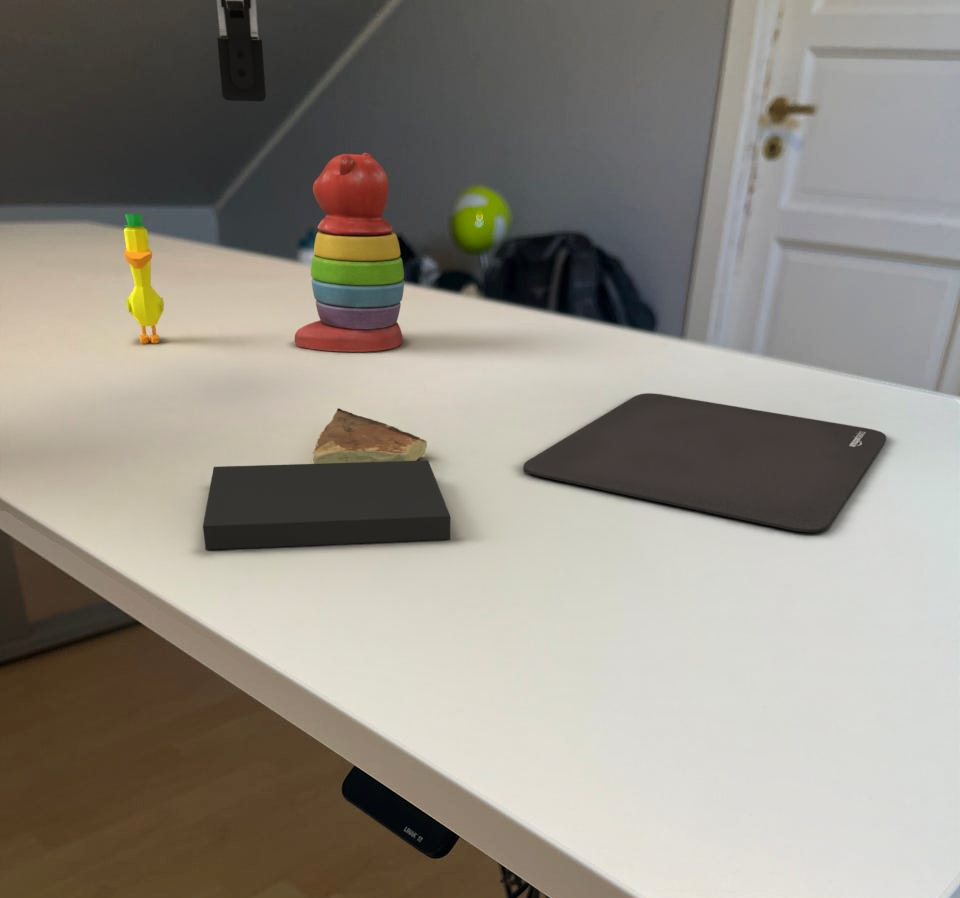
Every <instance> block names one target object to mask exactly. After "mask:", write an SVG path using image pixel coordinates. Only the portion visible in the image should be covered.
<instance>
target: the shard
mask: <svg viewBox="0 0 960 898" xmlns="http://www.w3.org/2000/svg"><path fill="white" fill-rule="evenodd" d="M427 448H428V442H427V440H425V439H423V438H421V437H419V436H416V435H414V434H412V433H410V432H407V431H403V430H400V429H399V428H397V427H395V426H392V425H389V424H387V423H385V422H381V421H379V420H374V419H372V418H368V417H364V416H362V415H358V414H354V413H353V412H349V411H347V410H343V409H342V408H339V407H338V408H337V409H336V412H335V413H334V415H333V417H332V420H331V421H330V422H329V423H328V424H327V425H326V426H325V427H324V430H323V431H322V432H320V434H319V437H318V438H317V439H316V443H315V447H314V449H313V451H312V454H313V455H312V456H313V459H312V460H313V462H314V463H313V464H322V463H355V462H388V461H418V460H419V459H420V458H422V457H423V456H424V455H425V452H426V450H427Z"/></svg>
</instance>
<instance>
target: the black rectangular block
mask: <svg viewBox="0 0 960 898" xmlns="http://www.w3.org/2000/svg"><path fill="white" fill-rule="evenodd" d="M202 530H203V531H202V532H203V540H204V548H205V550H206V551H213V550H236V549H238V550H239V549H256V548H257V549H261V548H281V547H283V548H284V547H304V546H307V547H308V546H327V545H329V546H331V545H349V544H351V545H352V544H370V543H371V544H372V543H395V542H396V543H397V542H417V541H419V542H420V541H439V540H441V541H442V540H451V515H450V512H449V509H448V507H447V504H446V502H445V499H444V496H443V494H442V491H441V489H440V486H439V484H438V482H437V479H436V477H435V475H434V472H433V468H432V467H431V464H430V462H429V460H428V459H427V460H423V459H422V460H416V461H388V462H355V463H322V464H314V463H297V464H296V463H293V464H292V463H291V464H289V463H288V464H261V465H259V464H257V465H224V466H213V468H212V474H211V479H210V483H209V490H208V497H207V501H206V507H205V513H204V518H203V524H202Z"/></svg>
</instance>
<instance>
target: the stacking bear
mask: <svg viewBox="0 0 960 898" xmlns="http://www.w3.org/2000/svg"><path fill="white" fill-rule="evenodd" d="M312 191H313V195H314V198H315V200H316V201H317V204H318V205H319V207H320V209H321V210H322V211H323V212H324V213H325V214H326V215H325V217H324V218H322V219H321V221H320V222H319V224H318V226H317V229H318V232H317V233H316V236H315V239H314V246H313V256H312V257H311V265H310V277H311V289H312V293H313V297H314V299H315V306H316V311H317V314H318V317H319V320H317V321H313V322H310V323H308V324H306V325H304V326H302V327H300V328H299V329H297V330H296V332H295V334H294V343H295V344H296V346H298V347H300V348H304V349H310V350H318V351H327V352H343V353H344V352H347V353H348V352H349V353H350V352H351V353H364V352H365V353H366V352H379V351H387V350H391V349H394V348H396V347H398V346H400V345H402V343H403V341H404V338H403V337H404V335H403V332H402V329H401V327H400V324H399V323H398V319H399V315H400V311H401V302H402V300H403V298H404V297H403V296H404V291H405V290H404V289H405V281H404V278H405V270H404V263H403V259H402V257H401V248H400V242H399V239H398V236H397V234H396V233H395V232H393V227H392V225H391V224H390V222H388V220H387V219H385V218H384V217H383V213H384V212H385V209H386V205H387V202H388V197H389V180H388V177H387V173H386V172H385V170H384V168H383V167H382V166H381V164H380V163H379V162H377V160H375V159H374V157H373V156H372V155H371V154H369V153H368V152H363V153H362V154H351V153H343V154H339V155H336V156H335V157H333V158H332V159H330V160H329V161H328V162H327V164H326V165H325V167H324V168H323V170H322V172H321V173H320V174H319V176H318V177H317V178H316V179H315V181H314V183H313V186H312Z"/></svg>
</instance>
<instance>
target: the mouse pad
mask: <svg viewBox="0 0 960 898" xmlns="http://www.w3.org/2000/svg"><path fill="white" fill-rule="evenodd" d="M886 439H887V436H886V433H884V432H881V431H879V430H877V429H873V428H867V427H863V426H855V425H850V424H843V423H837V422H832V421H826V420H820V419H813V418H808V417H802V416H797V415H790V414H784V413H779V412H778V413H777V412H773V411H765V410H759V409H753V408H747V407H741V406H735V405H730V404H729V405H728V404H724V403H716V402H710V401H705V400H698V399H692V398H686V397H681V396H674V395H669V394H662V393H653V392H652V393H651V392H650V393H649V392H648V393H647V392H646V393H640V394H637V395H634V396H633V397H631V398H629V399H628V400H626V401H625V402H623V403H621V404H619V405H618V406H616V407H614V408H613V409H611V410H609V411H608V412H606V413H604V414H602V415H601V416H599V417H597V418H595V419H594V420H593V421H591V422H589V423H587V424H585V425H584V426H582V427H581V428H579V429H577V430H576V431H575V432H573V433H571V434H570V435H568V436H566V437H564V438H563V439H561V440H559V441H557V442H556V443H555V444H553V445H551V446H550V447H548V448H546V449H545V450H543V451H541V452H539V453H538V454H536V455H535V456H533V457H531V458H529V459H528V460H527V461H525V462H524V464H523V468H522V469H523V471H524V472H526V473H528V474H530V475H533V476H537V477H540V478H546V479H549V480H555V481H559V482H564V483H569V484H574V485H578V486H582V487H587V488H592V489H595V490H601V491H606V492H611V493H614V494H620V495H625V496H629V497H634V498H639V499H644V500H647V501H648V500H649V501H652V502H658V503H660V504H661V503H662V504H666V505H672V506H676V507H680V508H684V509H685V508H686V509H690V510H695V511H699V512H705V513H709V514H714V515H719V516H723V517H727V518H732V519H735V520H743V521H746V522H751V523H756V524H760V525H765V526H770V527H773V528H779V529H783V530H787V531H794V532H800V533H817V532H821V531H824V530H826V529H828V528H829V527H830V526H831V524H832V522H833V521H834V519H835V517H836V516H837V515H838V513H839V512H840V510H841V509H842V507H843V506H844V504H845V503H846V501H847V500H848V498H849V497H850V495H851V494H852V492H853V491H854V489H855V488H856V486H857V485H858V483H859V482H860V480H861V479H862V477H863V475H864V474H865V472H866V471H867V470H868V468H869V466H870V465H871V464H872V461H873V460H874V459H875V457H876V456H877V454H878V452H880V450H881V448H882V446H883V445H884V443H885V442H886Z"/></svg>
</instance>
